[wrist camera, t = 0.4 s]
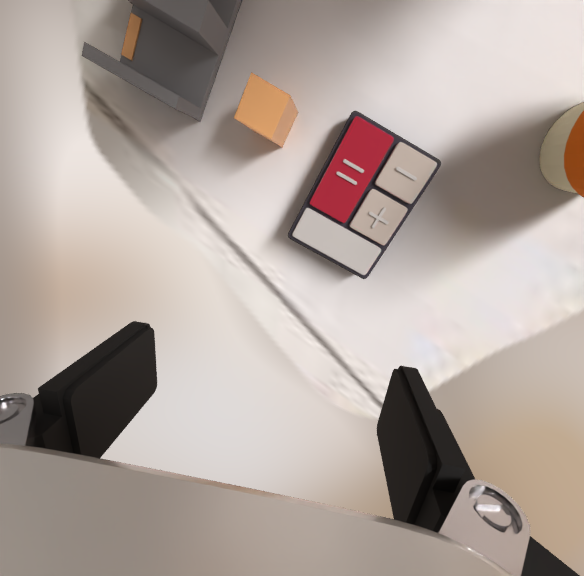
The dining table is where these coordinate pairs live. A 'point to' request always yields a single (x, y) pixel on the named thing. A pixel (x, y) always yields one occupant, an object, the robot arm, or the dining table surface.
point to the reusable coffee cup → (565, 152)
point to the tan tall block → (266, 110)
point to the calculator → (362, 195)
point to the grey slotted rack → (173, 49)
